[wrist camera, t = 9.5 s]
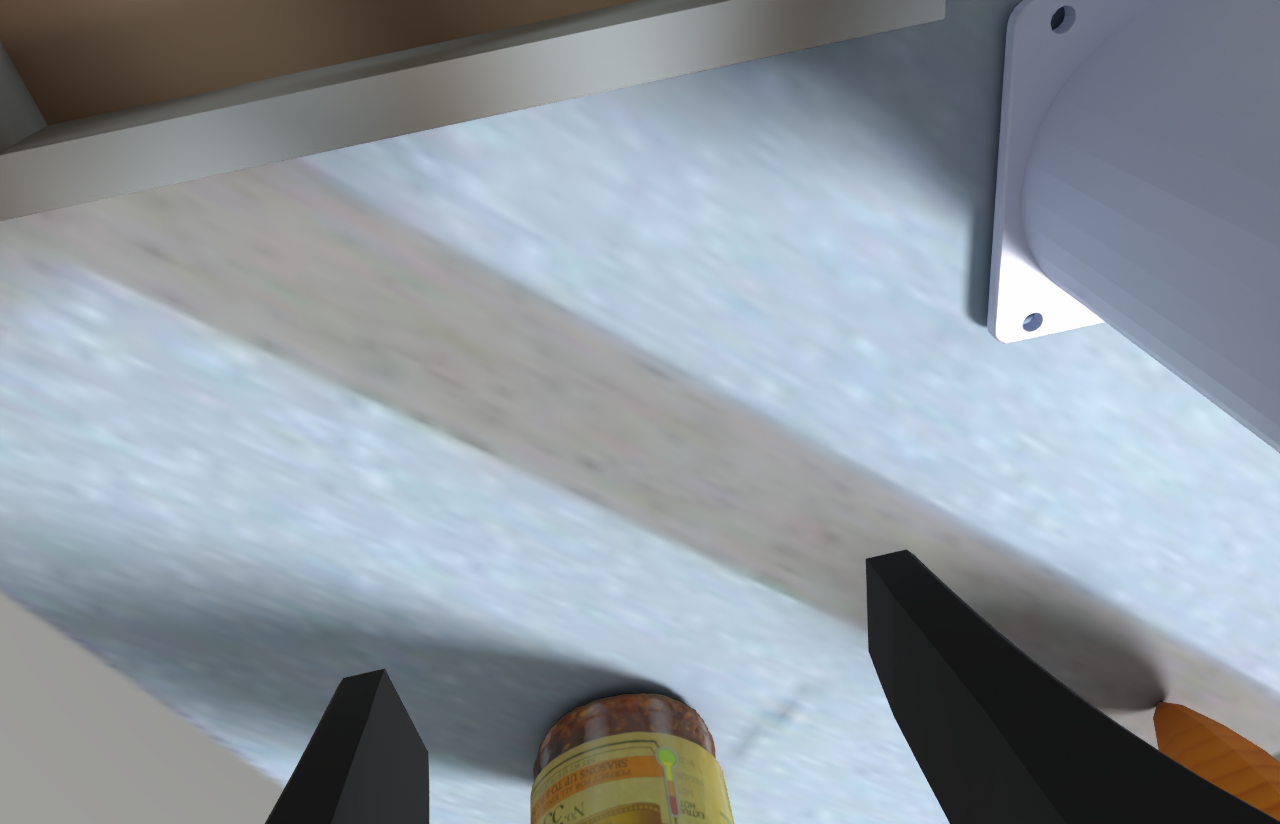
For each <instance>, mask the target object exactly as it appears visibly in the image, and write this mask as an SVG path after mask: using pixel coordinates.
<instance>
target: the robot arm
mask: <svg viewBox="0 0 1280 824" xmlns="http://www.w3.org/2000/svg"><path fill="white" fill-rule="evenodd" d="M1061 7H1064V9H1065V16H1064V19H1063V22H1062V23H1061V24H1060V26H1059V27H1058V28H1056V29H1054V30H1052V29H1051V19H1052V16H1053V14H1054V13H1055V12H1056V11H1057V10H1058V9H1059V8H1061ZM1032 313H1035V314H1034V317H1033V318H1032V320H1031V321H1030V322H1028V323H1026V324H1024V325H1022V324H1023V322H1024V319H1025V318H1026V317H1027V316H1028V315H1030V314H1032ZM1103 322H1106V323H1107V324H1109V325H1110V326H1111V327H1113V328H1114V329H1115V330H1117V331H1118V332H1119V333H1121V334H1122V335H1123V336H1125V337H1126V338H1127V339H1129V340H1130V341H1131V342H1133V343H1134V344H1135V345H1137V346H1138V347H1139V348H1141V349H1142V350H1143V351H1145V352H1146V353H1147V354H1149V355H1150V356H1151V357H1153V358H1154V359H1155V360H1157V361H1158V362H1159V363H1161V364H1162V365H1163V366H1165V367H1166V368H1167V369H1169V370H1170V371H1171V372H1173V373H1174V374H1175V375H1177V376H1178V377H1179V378H1181V379H1182V380H1183V381H1185V382H1186V383H1187V384H1189V385H1190V386H1191V387H1193V388H1194V389H1195V390H1197V391H1198V392H1199V393H1201V394H1202V395H1203V396H1205V397H1206V398H1207V399H1209V400H1210V401H1211V402H1213V403H1214V404H1215V405H1217V406H1218V407H1219V408H1221V409H1222V410H1223V411H1224V412H1226V413H1227V414H1228V415H1230V416H1231V417H1232V418H1234V419H1235V420H1236V421H1238V422H1239V423H1240V424H1242V425H1243V426H1244V427H1246V428H1247V429H1248V430H1250V431H1251V432H1252V433H1254V434H1255V435H1256V436H1258V437H1259V438H1260V439H1262V440H1263V441H1264V442H1266V443H1267V444H1268V445H1270V446H1271V447H1272V448H1274V449H1275V450H1276V451H1278V452H1279V453H1280V0H1023V1H1021V2H1020V3H1019V4H1018V5H1017V6H1016V7H1015V8H1014V10H1013V12H1012V13H1011V15H1010V17H1009V21H1008V25H1007V34H1006V49H1005V64H1004V79H1003V94H1002V109H1001V124H1000V139H999V154H998V169H997V184H996V199H995V214H994V229H993V244H992V259H991V274H990V289H989V304H988V319H987V327H988V331H989V333H990V334H991V335H992V336H993V337H994V338H995V339H996V340H997V341H999V342H1001V343H1014V342H1018V341H1023V340H1027V339H1032V338H1036V337H1040V336H1045V335H1049V334H1054V333H1058V332H1063V331H1067V330H1072V329H1076V328H1081V327H1085V326H1090V325H1094V324H1099V323H1103ZM866 579H867V613H868V647H869V653H870V656H871V659H872V661H873V664H874V667H875V669H876V672H877V674H878V677H879V680H880V682H881V685H882V688H883V690H884V693H885V695H886V698H887V700H888V703H889V705H890V708H891V710H892V713H893V715H894V717H895V719H896V721H897V723H898V725H899V727H900V729H901V731H902V733H903V735H904V737H905V739H906V741H907V742H908V744H909V746H910V748H911V750H912V752H913V754H914V756H915V758H916V760H917V762H918V764H919V766H920V767H921V769H922V771H923V773H924V775H925V777H926V779H927V781H928V783H929V785H930V787H931V788H932V790H933V792H934V794H935V796H936V798H937V800H938V802H939V804H940V806H941V807H942V809H943V811H944V813H945V815H946V817H947V819H948V821H949V823H950V824H1280V821H1278V820H1277V819H1275V818H1273V817H1271V816H1269V815H1268V814H1266V813H1264V812H1262V811H1260V810H1259V809H1257V808H1255V807H1253V806H1252V805H1250V804H1248V803H1246V802H1244V801H1243V800H1241V799H1239V798H1237V797H1235V796H1234V795H1232V794H1230V793H1228V792H1227V791H1225V790H1223V789H1221V788H1219V787H1218V786H1216V785H1214V784H1212V783H1210V782H1209V781H1207V780H1205V779H1204V778H1202V777H1200V776H1199V775H1197V774H1196V773H1194V772H1192V771H1191V770H1189V769H1188V768H1186V767H1184V766H1183V765H1181V764H1179V763H1178V762H1176V761H1175V760H1173V759H1171V758H1170V757H1168V756H1167V755H1165V754H1163V753H1162V752H1160V751H1159V750H1157V749H1156V748H1154V747H1153V746H1151V745H1149V744H1148V743H1146V742H1145V741H1143V740H1142V739H1140V738H1139V737H1137V736H1136V735H1134V734H1133V733H1131V732H1130V731H1128V730H1127V729H1125V728H1124V727H1122V726H1121V725H1119V724H1118V723H1117V722H1115V721H1114V720H1112V719H1111V718H1109V717H1108V716H1106V715H1105V714H1104V713H1102V712H1101V711H1099V710H1098V709H1097V708H1095V707H1094V706H1092V705H1091V704H1090V703H1088V702H1087V701H1085V700H1084V699H1083V698H1081V697H1080V696H1079V695H1077V694H1076V693H1075V692H1073V691H1072V690H1071V689H1069V688H1068V687H1067V686H1065V685H1064V684H1063V683H1061V682H1060V681H1059V680H1057V679H1056V678H1055V677H1054V676H1052V675H1051V674H1050V673H1048V672H1047V671H1046V670H1045V669H1043V668H1042V667H1041V666H1040V665H1038V664H1037V663H1036V662H1034V661H1033V660H1032V659H1031V658H1030V657H1028V656H1027V655H1026V654H1025V653H1023V652H1022V651H1021V650H1020V649H1019V648H1017V647H1016V646H1015V645H1014V644H1013V643H1011V642H1010V641H1009V640H1008V639H1007V638H1005V637H1004V636H1003V635H1002V634H1000V633H999V632H998V631H997V630H996V629H994V628H993V627H992V626H991V625H990V624H989V623H988V622H986V621H985V620H984V619H983V618H982V617H981V616H979V615H978V614H977V613H976V612H975V611H974V610H973V609H972V608H970V607H969V606H968V605H967V604H966V603H965V602H964V601H963V600H962V599H960V598H959V597H958V596H957V595H956V594H955V593H954V592H953V591H952V590H951V589H949V588H948V587H947V586H946V585H945V584H944V583H943V582H942V581H941V580H940V579H939V578H938V577H937V576H936V575H935V574H933V573H932V572H931V571H930V570H929V569H928V568H927V567H926V566H925V565H924V564H923V563H922V562H921V561H920V560H919V559H918V558H917V557H916V556H915V555H914V554H912V553H911V552H909V551H908V550H902V551H898V552H894V553H889V554H885V555H881V556H876V557H872V558H867V559H866ZM265 824H429V764H428V751H427V749H426V748H425V746H424V744H423V742H422V740H421V738H420V736H419V734H418V732H417V730H416V728H415V726H414V724H413V722H412V721H411V719H410V717H409V715H408V713H407V711H406V709H405V707H404V705H403V703H402V701H401V699H400V697H399V695H398V694H397V692H396V690H395V688H394V686H393V684H392V682H391V680H390V678H389V676H388V674H387V672H386V670H385V669H382V670H377V671H373V672H368V673H364V674H360V675H355V676H351V677H346V678H343V680H342V681H341V683H340V684H339V686H338V687H337V689H336V691H335V693H334V695H333V697H332V699H331V701H330V703H329V705H328V707H327V709H326V711H325V713H324V715H323V717H322V719H321V721H320V722H319V724H318V726H317V728H316V730H315V732H314V734H313V736H312V738H311V740H310V742H309V744H308V746H307V748H306V749H305V751H304V753H303V755H302V757H301V759H300V761H299V763H298V765H297V766H296V768H295V770H294V772H293V774H292V776H291V778H290V779H289V781H288V783H287V785H286V787H285V788H284V790H283V792H282V794H281V796H280V798H279V799H278V801H277V803H276V805H275V806H274V808H273V810H272V812H271V814H270V815H269V817H268V819H267V821H266V822H265Z"/></svg>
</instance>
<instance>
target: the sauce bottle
mask: <svg viewBox="0 0 1280 824" xmlns="http://www.w3.org/2000/svg"><path fill="white" fill-rule="evenodd" d="M533 773H534V783H533V786H532V790H531V824H734V820H733V816H732V811H731V806H730V802H729V797H728V793H727V788H726V784H725V780H724V775H723V771H722V769H721V767H720V765H719V763H718V762H717V760H716V756H715V746H714V741H713V738H712V735H711V734H710V732H709V731H708V728H707V726H706V724H705V723H704V720H703V719H702V718H701V717H700V715H699V714H698V713H697V712H696V710H694V709H691V708H690V707H688V706H687V705H685V704H684V703H682V702H680V701H677V700H674V699H672V698H670V697H668V696H665V695H661V694H653V693H652V694H645V693H640V694H622V695H619V696H613V697H607V698H602V699H598V700H594V701H592V702H590V703H587V704H586V705H584V706H578V707H576V708H575V709H574V710H573V711H572V712H569V713H566V714H564V715H563V716H562V717H561V718H560V719H559V720H558V722H557V723H556V724H554V726H553V727H552V728H551V729H550V731H549V732H548V733H547V734H546V737H545V738H544V740H543V743H542V744H541V745H540V749H539V753H538V756H537V759H536V760H535V763H534V768H533Z"/></svg>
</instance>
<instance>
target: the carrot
mask: <svg viewBox="0 0 1280 824" xmlns="http://www.w3.org/2000/svg"><path fill="white" fill-rule="evenodd" d="M1153 720H1154V726H1155V731H1156V737H1157V743H1158V748H1159V751H1160V752H1162V753H1163V754H1165V755H1167V756H1168V757H1170V758H1171V759H1173V760H1175V761H1176V762H1178V763H1179V764H1181V765H1183V766H1184V767H1186V768H1188V769H1189V770H1191V771H1192V772H1194V773H1196V774H1197V775H1199V776H1200V777H1202V778H1204V779H1205V780H1207V781H1209V782H1210V783H1212V784H1214V785H1216V786H1218V787H1219V788H1221V789H1223V790H1225V791H1227V792H1228V793H1230V794H1232V795H1234V796H1235V797H1237V798H1239V799H1241V800H1243V801H1244V802H1246V803H1248V804H1250V805H1252V806H1253V807H1255V808H1257V809H1259V810H1260V811H1262V812H1264V813H1266V814H1268V815H1269V816H1271V817H1273V818H1275V819H1277V820H1278V821H1280V763H1279V762H1278V761H1277V760H1276V759H1275V758H1273V757H1272V756H1271V755H1270V754H1268V753H1267V752H1266V751H1265V750H1263V749H1261V748H1260V747H1258V746H1257V745H1255V744H1253V743H1252V742H1250V741H1248V740H1247V739H1245V738H1244V737H1242V736H1240V735H1239V734H1237V733H1236V732H1234V731H1232V730H1231V729H1229V728H1227V727H1226V726H1224V725H1222V724H1220V723H1218V722H1216V721H1214V720H1212V719H1210V718H1208V717H1206V716H1204V715H1202V714H1200V713H1198V712H1195V711H1193V710H1191V709H1189V708H1187V707H1185V706H1183V705H1179V704H1173V703H1167V702H1160V703H1158V704H1157V706H1156V710H1155V713H1154V717H1153Z"/></svg>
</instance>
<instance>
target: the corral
mask: <svg viewBox="0 0 1280 824" xmlns="http://www.w3.org/2000/svg"><path fill="white" fill-rule="evenodd" d="M945 8H946V0H0V221H3V220H8V219H13V218H17V217H22V216H27V215H31V214H36V213H41V212H45V211H50V210H55V209H59V208H64V207H69V206H73V205H78V204H83V203H87V202H92V201H97V200H101V199H106V198H111V197H115V196H120V195H125V194H129V193H134V192H139V191H143V190H148V189H153V188H157V187H162V186H167V185H171V184H176V183H181V182H185V181H190V180H195V179H200V178H204V177H209V176H214V175H218V174H223V173H228V172H232V171H237V170H242V169H246V168H251V167H256V166H260V165H265V164H270V163H274V162H279V161H284V160H288V159H293V158H298V157H302V156H307V155H312V154H316V153H321V152H326V151H330V150H335V149H340V148H344V147H349V146H354V145H358V144H363V143H368V142H372V141H377V140H382V139H387V138H391V137H396V136H401V135H405V134H410V133H415V132H419V131H424V130H429V129H433V128H438V127H443V126H447V125H452V124H457V123H461V122H466V121H471V120H475V119H480V118H485V117H489V116H494V115H499V114H503V113H508V112H513V111H517V110H522V109H527V108H531V107H536V106H541V105H545V104H550V103H555V102H559V101H564V100H569V99H574V98H578V97H583V96H588V95H592V94H597V93H602V92H606V91H611V90H616V89H620V88H625V87H630V86H634V85H639V84H644V83H648V82H653V81H658V80H662V79H667V78H672V77H676V76H681V75H686V74H690V73H695V72H700V71H704V70H709V69H714V68H718V67H723V66H728V65H732V64H737V63H742V62H746V61H751V60H756V59H761V58H765V57H770V56H775V55H779V54H784V53H789V52H793V51H798V50H803V49H807V48H812V47H817V46H821V45H826V44H831V43H835V42H840V41H845V40H849V39H854V38H859V37H863V36H868V35H873V34H877V33H882V32H887V31H891V30H896V29H901V28H905V27H910V26H915V25H919V24H924V23H929V22H933V21H938V20H943V19H945Z"/></svg>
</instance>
